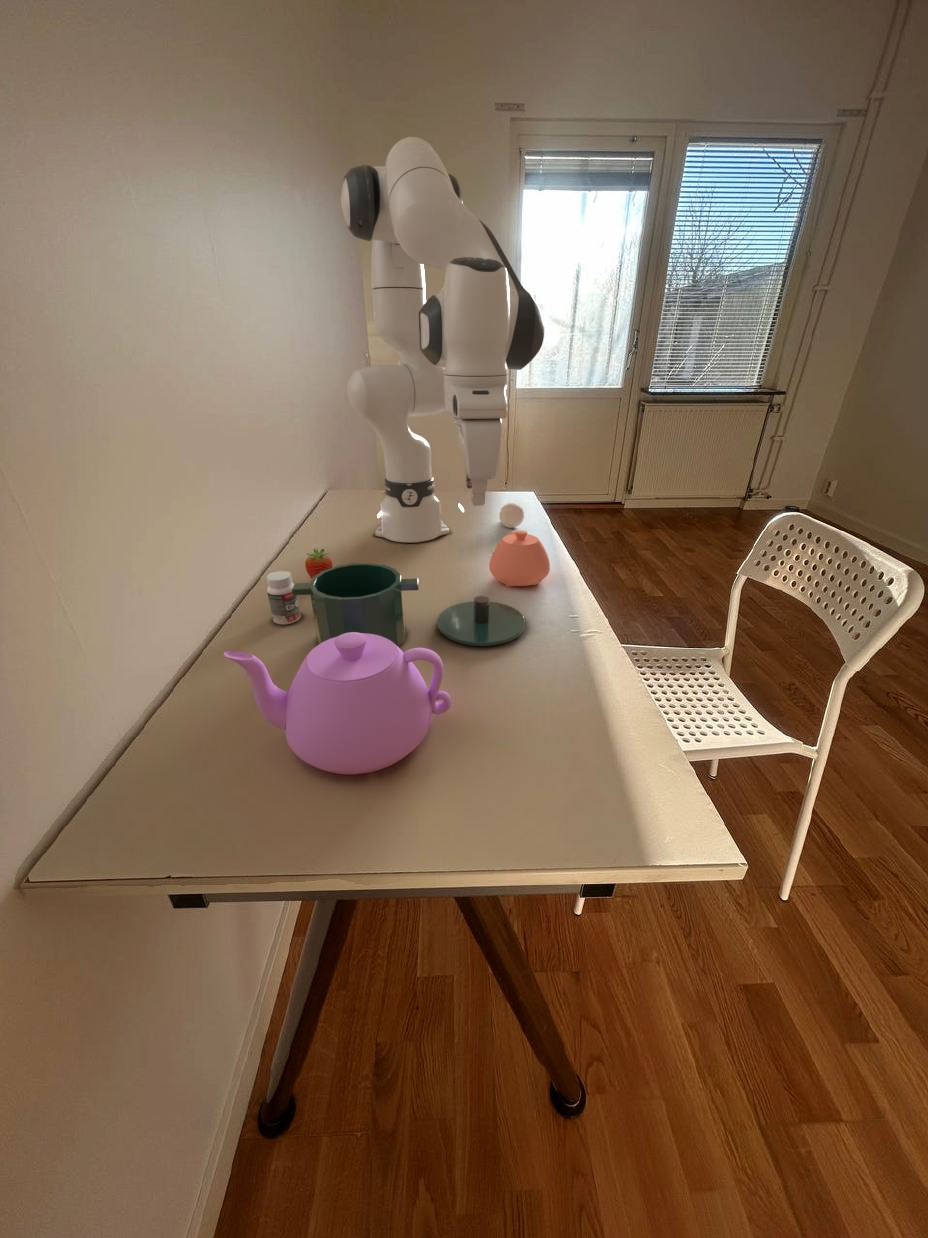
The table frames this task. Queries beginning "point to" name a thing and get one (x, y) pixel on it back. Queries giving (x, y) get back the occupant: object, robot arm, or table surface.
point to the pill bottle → (282, 598)
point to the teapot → (351, 702)
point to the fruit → (317, 563)
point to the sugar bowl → (519, 560)
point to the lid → (481, 622)
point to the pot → (358, 601)
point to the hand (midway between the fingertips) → (474, 495)
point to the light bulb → (511, 515)
